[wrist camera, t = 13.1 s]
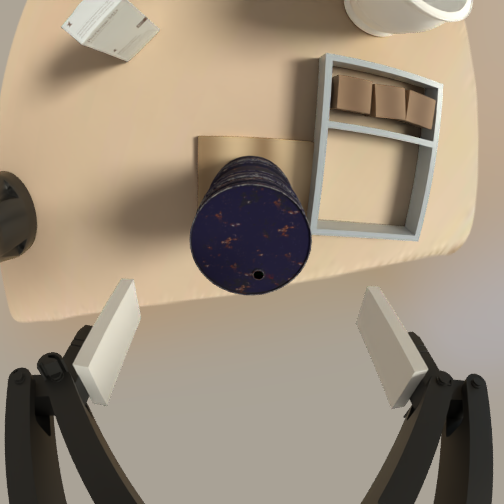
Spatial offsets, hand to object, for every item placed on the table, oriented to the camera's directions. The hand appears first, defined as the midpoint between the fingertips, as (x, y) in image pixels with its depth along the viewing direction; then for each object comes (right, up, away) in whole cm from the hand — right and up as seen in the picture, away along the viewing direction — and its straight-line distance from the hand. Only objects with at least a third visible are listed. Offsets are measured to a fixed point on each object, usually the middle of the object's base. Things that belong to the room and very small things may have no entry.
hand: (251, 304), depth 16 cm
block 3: (+20, +22, +16) cm, 34 cm away
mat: (0, +10, +21) cm, 24 cm away
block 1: (+11, +22, +15) cm, 29 cm away
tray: (+16, +16, +18) cm, 29 cm away
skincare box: (-15, +30, +12) cm, 35 cm away
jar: (+16, +34, +10) cm, 39 cm away
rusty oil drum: (0, +10, +21) cm, 23 cm away
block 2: (+16, +22, +16) cm, 31 cm away
